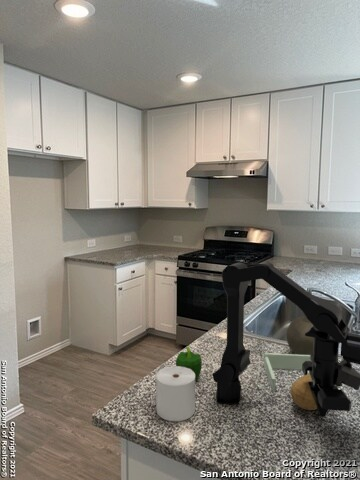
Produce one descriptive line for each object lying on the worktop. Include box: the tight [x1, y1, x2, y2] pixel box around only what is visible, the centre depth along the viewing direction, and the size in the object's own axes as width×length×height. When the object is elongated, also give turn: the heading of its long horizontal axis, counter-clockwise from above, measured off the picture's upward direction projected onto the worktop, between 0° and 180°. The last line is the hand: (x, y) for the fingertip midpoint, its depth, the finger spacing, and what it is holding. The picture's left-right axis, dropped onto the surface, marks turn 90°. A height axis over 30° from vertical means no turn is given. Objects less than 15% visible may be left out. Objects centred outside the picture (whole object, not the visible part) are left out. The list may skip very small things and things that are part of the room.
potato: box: [290, 373, 318, 411], centre depth 96 cm, size 10×14×8 cm
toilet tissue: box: [155, 362, 196, 422], centre depth 94 cm, size 11×12×10 cm
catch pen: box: [263, 352, 339, 393], centre depth 110 cm, size 19×16×5 cm
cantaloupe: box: [286, 315, 314, 355], centre depth 127 cm, size 14×14×15 cm
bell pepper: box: [175, 346, 203, 382], centre depth 110 cm, size 8×8×10 cm
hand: (322, 416), depth 85 cm, fingers closed
